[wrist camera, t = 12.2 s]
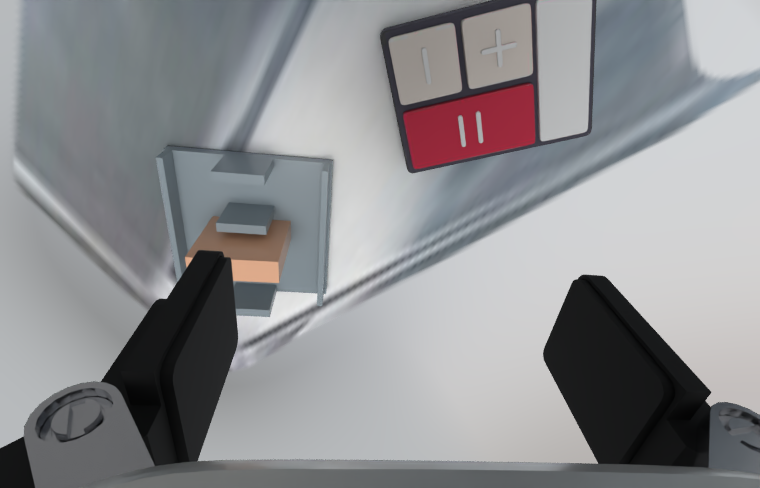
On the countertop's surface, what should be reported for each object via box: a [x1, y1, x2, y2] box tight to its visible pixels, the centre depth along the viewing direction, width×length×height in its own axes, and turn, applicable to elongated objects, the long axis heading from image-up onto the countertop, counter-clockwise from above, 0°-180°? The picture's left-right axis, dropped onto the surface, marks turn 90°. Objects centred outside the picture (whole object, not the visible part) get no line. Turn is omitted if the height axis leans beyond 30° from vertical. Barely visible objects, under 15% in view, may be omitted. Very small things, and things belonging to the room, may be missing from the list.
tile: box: [185, 216, 291, 283], centre depth 35 cm, size 2×7×7 cm, turn 84°
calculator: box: [380, 0, 596, 173], centre depth 32 cm, size 11×4×15 cm
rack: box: [156, 146, 333, 317], centre depth 37 cm, size 14×14×5 cm
